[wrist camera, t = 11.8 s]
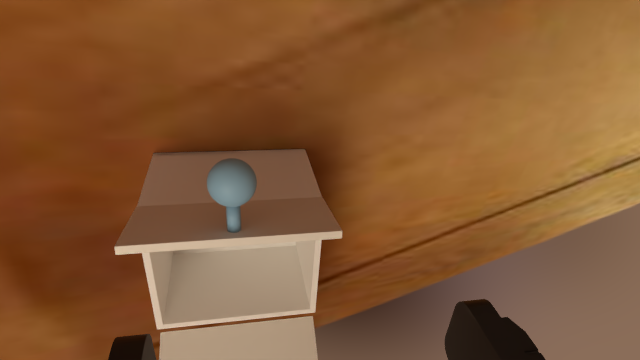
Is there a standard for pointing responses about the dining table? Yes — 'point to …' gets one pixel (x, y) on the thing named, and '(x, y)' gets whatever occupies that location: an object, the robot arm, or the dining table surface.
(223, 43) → the dining table surface
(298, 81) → the dining table surface
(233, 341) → the flap open
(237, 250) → the carton
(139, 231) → the flap with blue knob
